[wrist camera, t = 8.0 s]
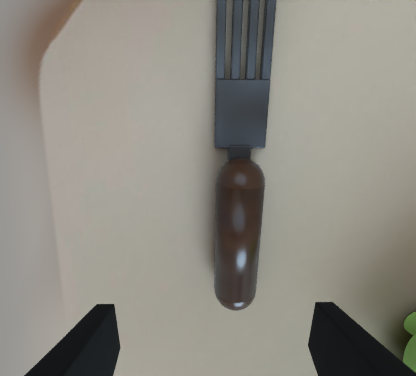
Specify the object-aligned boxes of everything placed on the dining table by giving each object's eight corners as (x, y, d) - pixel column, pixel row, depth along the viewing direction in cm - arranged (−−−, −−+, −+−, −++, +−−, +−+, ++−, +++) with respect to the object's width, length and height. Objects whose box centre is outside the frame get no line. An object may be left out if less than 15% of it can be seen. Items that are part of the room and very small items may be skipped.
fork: (251, 289, 19) (259, 320, 16) (212, 289, 19) (213, 320, 16) (275, -18, 13) (294, -56, 10) (217, -19, 13) (220, -57, 10)
